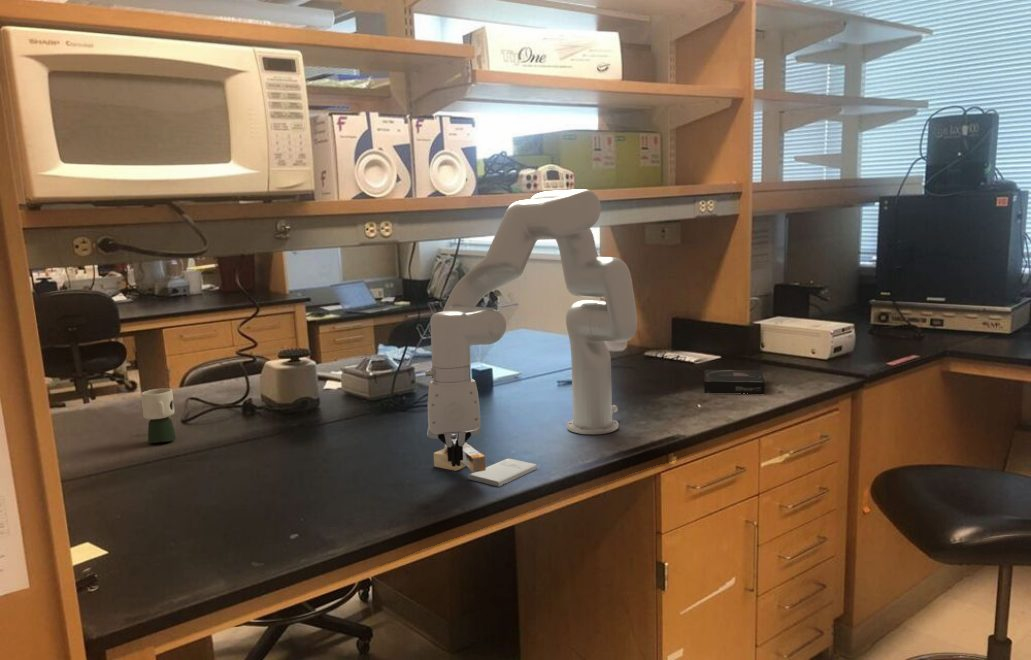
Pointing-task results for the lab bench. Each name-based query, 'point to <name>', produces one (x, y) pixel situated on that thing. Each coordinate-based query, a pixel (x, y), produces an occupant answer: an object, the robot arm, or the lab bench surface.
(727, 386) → the portable cd player
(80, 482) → the lab bench surface
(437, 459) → the block
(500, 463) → the external hard drive
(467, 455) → the latch arm
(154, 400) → the character mug
